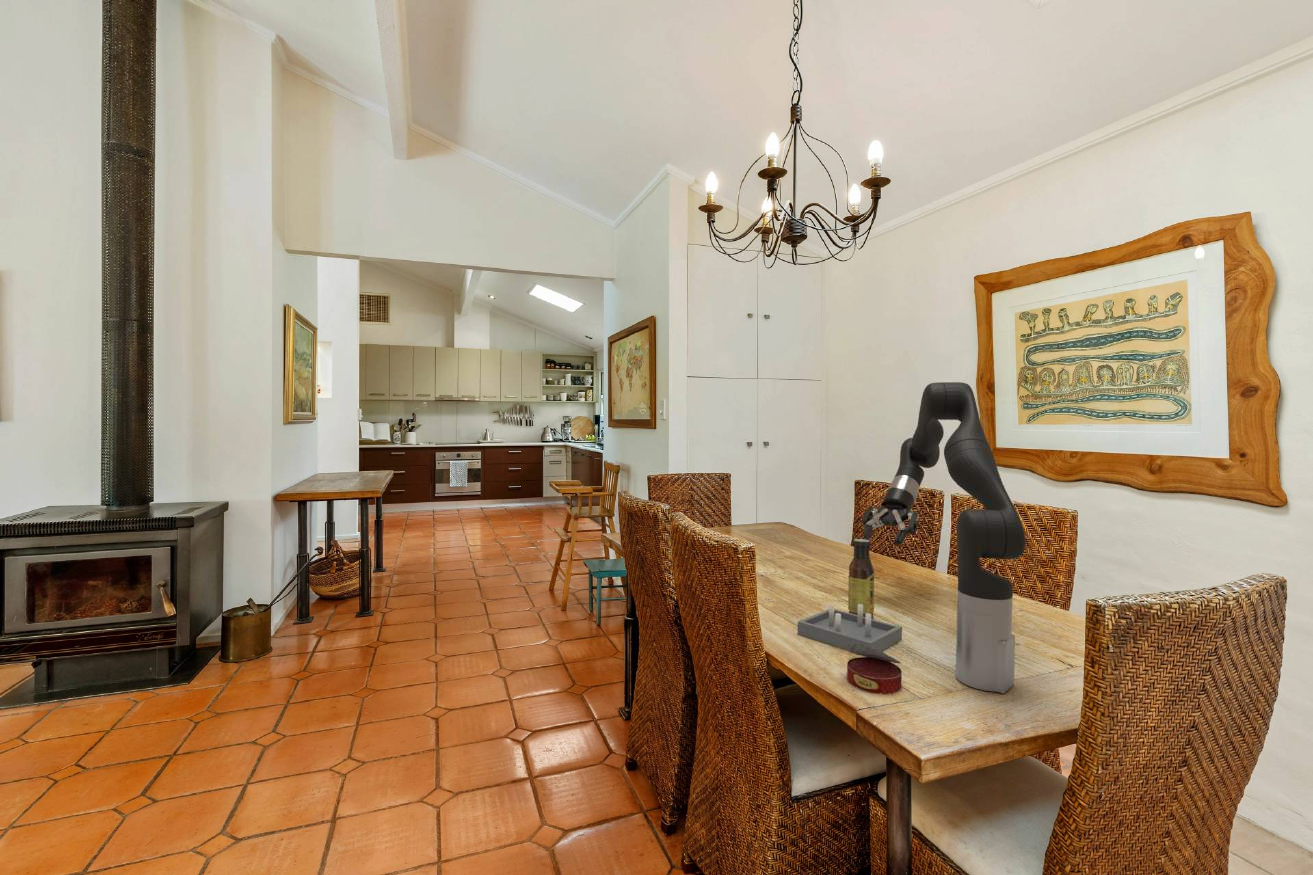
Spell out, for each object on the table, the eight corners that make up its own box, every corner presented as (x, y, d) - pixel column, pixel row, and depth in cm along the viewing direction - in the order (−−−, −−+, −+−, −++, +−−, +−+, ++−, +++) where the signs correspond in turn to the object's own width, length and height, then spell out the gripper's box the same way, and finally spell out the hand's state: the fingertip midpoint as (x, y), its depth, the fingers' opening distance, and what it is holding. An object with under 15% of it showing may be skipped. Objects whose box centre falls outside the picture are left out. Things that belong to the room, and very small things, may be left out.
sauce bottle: (875, 622, 144) (877, 543, 144) (849, 620, 146) (851, 542, 145) (871, 614, 151) (873, 538, 150) (846, 612, 152) (847, 537, 152)
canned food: (844, 701, 113) (829, 648, 117) (890, 691, 115) (873, 639, 119) (873, 699, 103) (854, 641, 107) (922, 688, 105) (902, 631, 109)
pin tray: (901, 639, 133) (902, 611, 133) (870, 657, 123) (870, 627, 123) (831, 619, 146) (831, 594, 146) (797, 633, 136) (798, 606, 136)
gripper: (872, 484, 166) (851, 528, 158) (923, 488, 155) (903, 536, 148) (880, 501, 169) (860, 545, 162) (930, 506, 159) (911, 554, 151)
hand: (880, 541), depth 155 cm, fingers open, 8 cm apart
